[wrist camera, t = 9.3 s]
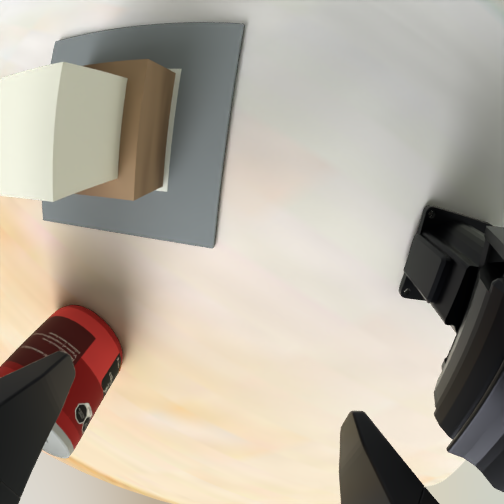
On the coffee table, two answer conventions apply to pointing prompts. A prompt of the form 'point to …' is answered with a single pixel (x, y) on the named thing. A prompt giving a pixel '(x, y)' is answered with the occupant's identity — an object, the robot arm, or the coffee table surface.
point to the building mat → (179, 129)
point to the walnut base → (139, 129)
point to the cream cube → (59, 130)
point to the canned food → (85, 363)
